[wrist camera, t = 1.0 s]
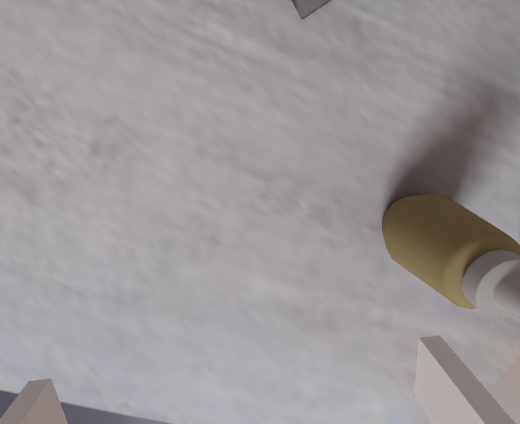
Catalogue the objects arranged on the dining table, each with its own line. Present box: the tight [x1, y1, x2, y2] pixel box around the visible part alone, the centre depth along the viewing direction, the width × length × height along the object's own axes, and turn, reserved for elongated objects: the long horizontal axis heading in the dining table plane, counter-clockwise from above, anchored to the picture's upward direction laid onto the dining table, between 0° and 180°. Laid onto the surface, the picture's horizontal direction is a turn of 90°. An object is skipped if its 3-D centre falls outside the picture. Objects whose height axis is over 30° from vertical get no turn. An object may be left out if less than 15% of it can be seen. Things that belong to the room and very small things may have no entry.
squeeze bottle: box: [382, 194, 520, 319], centre depth 27 cm, size 8×8×18 cm
